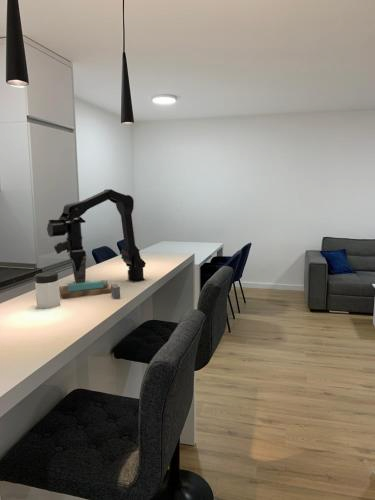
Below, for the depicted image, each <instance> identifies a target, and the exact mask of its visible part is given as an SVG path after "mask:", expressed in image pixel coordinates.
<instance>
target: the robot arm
mask: <svg viewBox="0 0 375 500" xmlns="http://www.w3.org/2000/svg"><path fill="white" fill-rule="evenodd" d="M134 200H135V199H134V197H133V196H131V195H130V194H124V193H120V192H119V191H116V190H115V189H114V190H113V189H110V188H109V189H107V188H106V189H104V190H103V191H101V192H99V193H97V194H94V195H93V196H90V197H87V198H86V199H83V200H80V201H74V202H71V203H66V204H65V205H64V206H63V209H62V213H61V215H60V216H59V218H58V219H48V223H47V228H46V230H47V234H48V236H49V237H50V238H52V237H62V236H65V235H66V236H67V237H66V238H65V239H66V240H64V241H62V242H61V241H59V242H58V243H56V244H55V245H53V248H54V251H55V252H56V254H57V255H58V254H61V252H64V251H66V253H68V254H67V256H68V257H69V258H71V259H73V263H74V266H75V269H76V271H79V269H80V266H81V263H82V260H83V257H85V256H86V257H87V254H86V253H87V252H86V250H85V249H84V246H83V236H82V235H83V234H82V224H83V223H84V224H85V223H86V220H85V219H84V218H82V216H83V215H84V214H85V213H86V212H87V211H88V210H89V209H91V208H94V207H95V206H98V205H100V204H102V203H104V202H106V201H110V202H111V203H114V204H115V206H116V210H117V212H118V214H119V215H120V220H121V227H122V234H123V243H124V246H123V249H121V250H120V254H121V259H122V261H123V262H124V263H125V265H126V267H128V270H127V279H128V280H129V281H130V282H139V281H145V280H146V279H145V277H144V268H145V267H146V264H147V263H146V262H145V261H144V259H142V257H141V255H140V250H139V249H138V247H137V246H136V241H135V240H136V239H135V231H134V226H133V225H134V224H133V216H132V215H133V211H134V204H135V201H134ZM71 259H70V260H71Z"/></svg>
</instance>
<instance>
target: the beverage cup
mask: <svg viewBox="0 0 375 500" xmlns="http://www.w3.org/2000/svg"><path fill="white" fill-rule="evenodd" d="M69 258H70V257H69ZM70 262H71V265H72V266H71V267H72V272H73V277H74V284H76V283H85V282H86V279H87V278H86V271H87V270H86V269H87V268H86V266H87V265H86V264H87V263H86V262H87V255H86V256H85V257H83V260H82V263H81V266H80V269H79V271H76V269H75V266H74V263H73V259H71V258H70Z"/></svg>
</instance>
